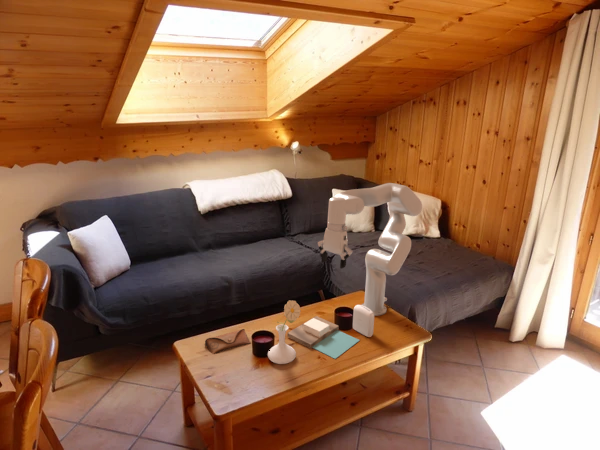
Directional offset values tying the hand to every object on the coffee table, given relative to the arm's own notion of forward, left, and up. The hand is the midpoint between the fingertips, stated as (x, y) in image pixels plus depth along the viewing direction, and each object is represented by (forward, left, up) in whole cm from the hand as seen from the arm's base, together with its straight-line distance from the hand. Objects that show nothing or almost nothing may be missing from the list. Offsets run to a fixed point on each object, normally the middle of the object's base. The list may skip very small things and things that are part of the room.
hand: (333, 264), depth 176 cm
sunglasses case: (+39, -25, -32) cm, 56 cm away
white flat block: (+8, -2, -29) cm, 31 cm away
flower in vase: (+30, -1, -32) cm, 44 cm away
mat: (+8, +9, -31) cm, 34 cm away
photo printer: (-8, +12, -32) cm, 35 cm away
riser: (+8, -3, -31) cm, 33 cm away
